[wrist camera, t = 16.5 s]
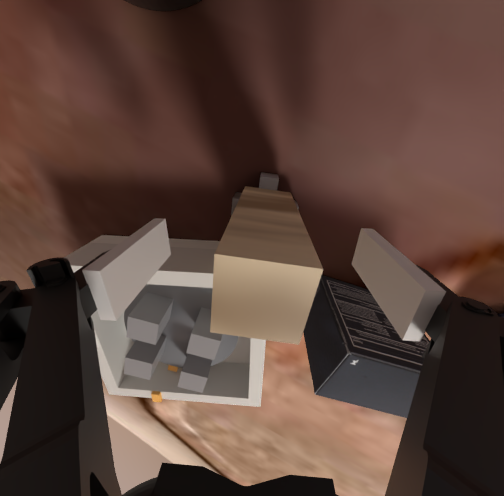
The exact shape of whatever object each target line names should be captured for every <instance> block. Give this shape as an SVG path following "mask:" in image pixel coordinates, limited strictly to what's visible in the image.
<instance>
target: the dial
mask: <svg viewBox="0 0 504 496" xmlns="http://www.w3.org/2000/svg"><path fill="white" fill-rule="evenodd" d="M212 290H213V288H203V287H187V286H170V285H154V284H146V285H145V286H144V288H143V289H142V290H141V291H140V293H139V294H138V295H137V296H136V297H135V299H134V300H133V301H132V302H131V304H130V305H129V306H128V307H127V308H126V310H125V312H124V323H125V327H126V330H127V336H126V337H127V338H131V339H132V341H133V342H134V344H133V346H132V347H131V349H130V350H129V352H128V353H127V355H126V356H125V364H124V374H127V375H131V376H135V377H139V378H143V379H147V380H150V379H151V377H152V375H153V373H154V371H155V369H156V367H157V364H158V362H159V361H160V362H163V363H165V364H168V370H170V371H174V372H177V370H178V367H181V368H182V371H181V375H180V379H179V382H178V386H177V387H180V388H184V389H188V390H192V391H196V392H200V393H203V390H204V387H205V384H206V382H207V379H208V375H209V371H210V367H211V366H213V365H215V364H218V363H220V362H222V361H223V360H225V359H226V358H227V357H228V356H229V355H231V353H232V352H233V351H234V349H235V347H236V344H237V341H238V336H233V335H226V334H219V333H212V332H210V326H211V308H212Z"/></svg>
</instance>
